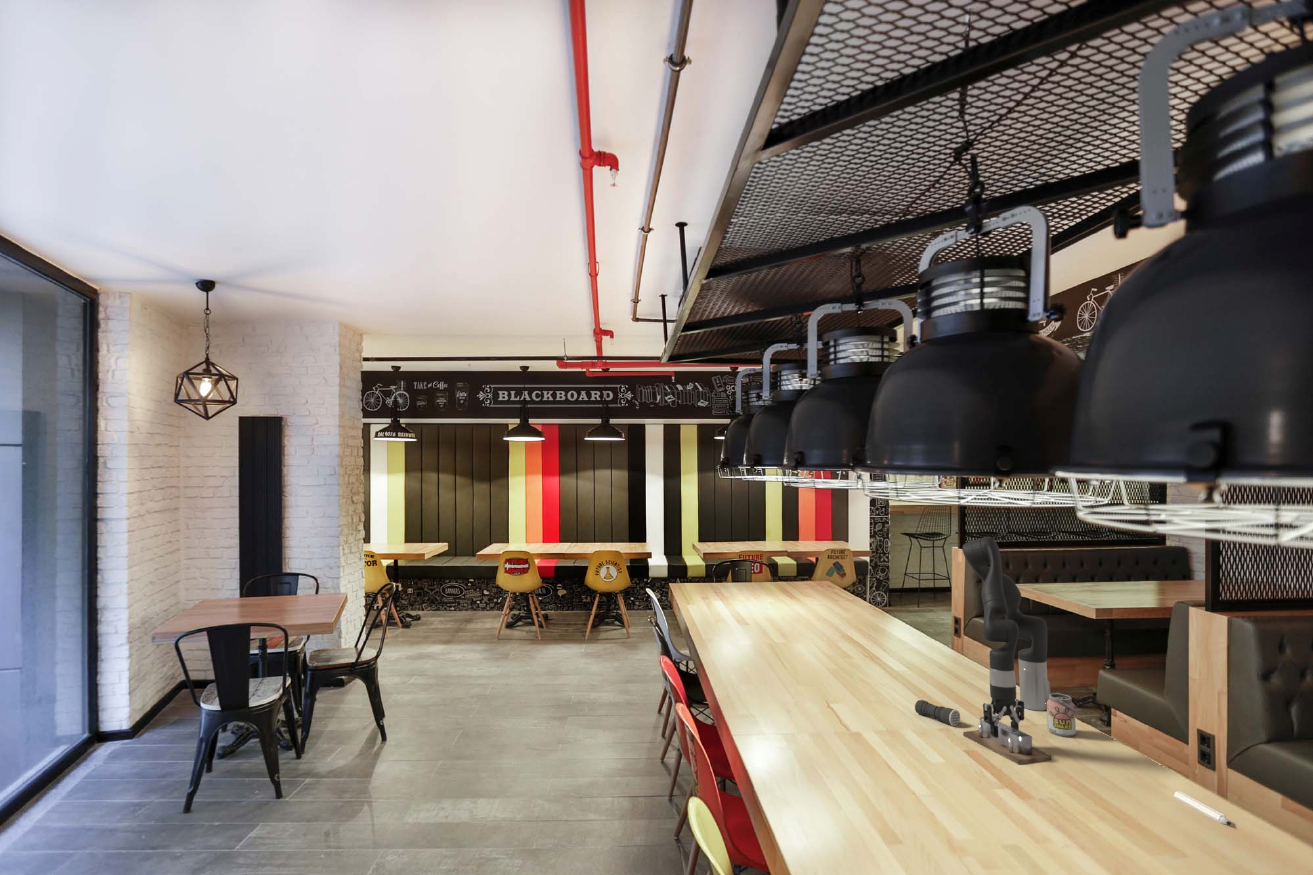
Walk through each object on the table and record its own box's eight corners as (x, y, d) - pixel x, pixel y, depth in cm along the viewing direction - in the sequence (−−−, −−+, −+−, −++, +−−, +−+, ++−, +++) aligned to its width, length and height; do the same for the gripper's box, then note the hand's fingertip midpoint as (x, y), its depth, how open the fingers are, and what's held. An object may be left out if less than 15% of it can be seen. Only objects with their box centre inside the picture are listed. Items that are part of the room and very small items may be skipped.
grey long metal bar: (988, 731, 231) (987, 715, 231) (1035, 754, 212) (1034, 737, 212) (977, 732, 230) (977, 717, 230) (1024, 755, 211) (1023, 739, 211)
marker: (1232, 832, 169) (1177, 801, 185) (1239, 828, 169) (1183, 797, 185) (1227, 823, 169) (1172, 793, 185) (1234, 818, 169) (1178, 788, 185)
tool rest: (993, 731, 234) (992, 715, 234) (1051, 759, 211) (1050, 741, 211) (963, 735, 231) (962, 719, 231) (1018, 764, 208) (1017, 746, 208)
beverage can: (1078, 730, 234) (1076, 694, 234) (1081, 739, 226) (1079, 702, 227) (1046, 726, 238) (1045, 691, 238) (1049, 735, 230) (1047, 698, 231)
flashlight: (913, 714, 252) (913, 699, 252) (923, 712, 255) (922, 697, 255) (950, 727, 239) (950, 711, 239) (960, 724, 241) (960, 708, 242)
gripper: (1012, 677, 227) (1014, 729, 227) (975, 681, 224) (977, 734, 223) (1030, 683, 220) (1032, 737, 219) (992, 688, 216) (994, 742, 216)
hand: (1004, 735), depth 221 cm, fingers open, 7 cm apart
